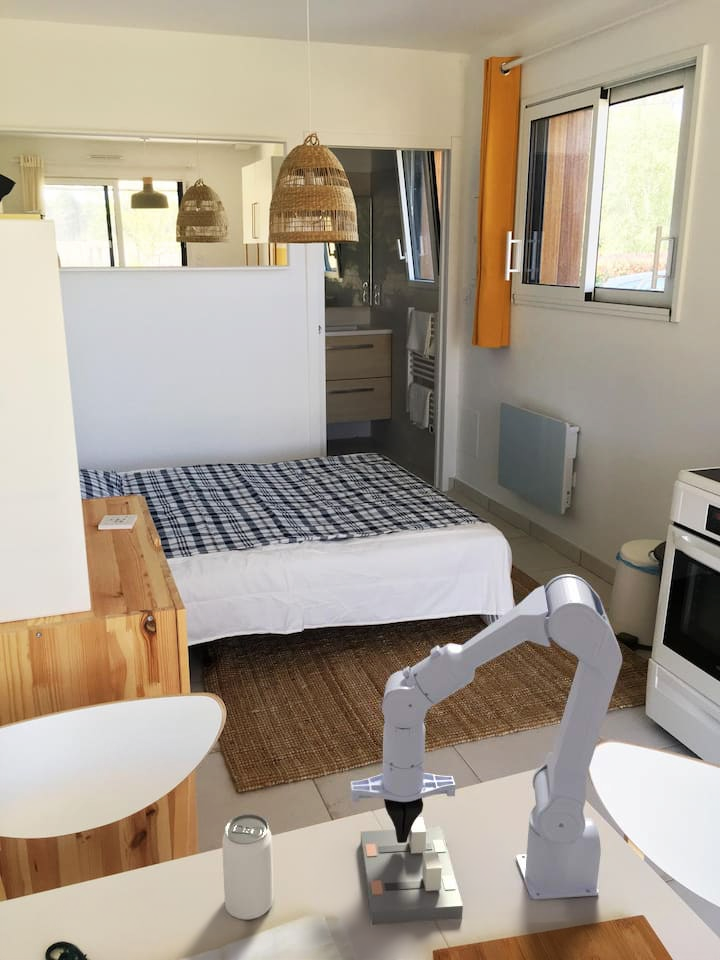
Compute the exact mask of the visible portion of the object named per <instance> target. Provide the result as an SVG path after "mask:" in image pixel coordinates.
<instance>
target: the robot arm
mask: <svg viewBox="0 0 720 960" xmlns="http://www.w3.org/2000/svg"><path fill="white" fill-rule="evenodd" d="M550 638H552V640H553V641H554V643H556V644H557V645H558V646H559V647H561V648H562V649H564V650H566V651H567V652H569V653H571V654H572V655H574V656H575V657H577V659H578V663H577V667H576V670H575V674H574V677H573V680H572V682H571V683H572V684H571V688H570V690H569V694H568V698H567V702H566V703H565V708H564V710H563V714H562V716H561V721H560V725H559V728H558V731H557V735H556V738H555V741H554V745H553V748H552V751H551V752H548V753H547V754H546V757H545V759H544V762H543V763H542V764H541V766H539V767H538V768H537V769H536V771H535V772H534V774H533V777H532V787H533V790H534V797H535V798H534V799H535V805H534V806H533V808H532V810H531V811H530V812H529V813H530V814H529V820H528V831H527V833H528V834H527V842H526V843H527V844H526V854H517V855H516V856H515V857H516V859H515V860H516V862H517V865H518V867H519V871H520V872H521V875H522V878H523V880H524V884H525V886H526V888H527V890H528V894H529V896H530V898H531V899H532V900H546V899H547V900H548V899H561V898H563V899H564V898H574V897H575V898H576V897H591V896H592V897H593V896H594V897H595V896H598V895H599V893H600V891H599V889H598V881H599V872H600V871H599V870H600V864H601V862H600V861H601V855H602V854H601V851H602V848H601V847H602V846H601V840H600V835H599V831H598V827H597V825H596V824H595V821H594V820H593V819H592V818H591V817H587V816H585V815H584V809H585V808H584V807H585V805H586V800H587V799H586V798H587V778H588V773H589V769H590V766H591V763H592V760H593V757H594V753H595V750H596V747H597V744H598V740H599V738H600V734H601V732H602V728H603V724H604V722H605V718H606V715H607V713H608V709H609V705H610V703H611V699H612V696H613V693H614V689H615V686H616V684H617V680H618V678H619V674H620V670H621V669H622V668H621V667H622V664H623V655H622V652H621V648H620V645H619V643H618V641H617V637H616V635H615V633H614V630H613V628H612V625H611V623H610V620H609V617H608V614H607V613H606V611H605V608H604V606H603V602H602V600H601V597H600V596H599V594H598V593H597V592H596V591H595V590H594V589H593V588H592V586H591V585H590V584H589V583H588V582H587V581H586V580H585V579H583V578H582V577H580V576H578V575H575V574H571V573H570V574H568V573H567V574H559V575H558V576H556V577H554V578H552V579H551V580H550V581H548V583H547V584H546V586H545V585H541V586H539V587H536V588H535V589H534V590H533V591H532V592H530V593H529V594H528V595H527V596H525V598H524V599H522V601H520V602H519V603H518V604H516V605H515V606H514V607H513V608H511V609H510V610H509V611H507V612H506V613H505V614H503V615H502V616H500V617H499V618H498V619H496V620H495V621H493V622H492V623H491V624H489V625H488V626H487V627H485V628H484V629H483V630H481V631H480V632H478V633H477V634H475V635H474V636H472V638H471V639H469V640H467V641H466V642H465V643H464V644H458V643H447V644H445V645H444V646H443V647H440V646H439V645H436V646H434V647H433V648H431V649H430V655H429V656H427V657H426V658H424V659H423V660H420V661H419V662H417V663H416V664H415V665H413V666H412V667H410V666H409V665H408V666H407V667H405V668H403V670H401V669H400V670H397V671H395V672H394V673H392V674H391V675H390V676H389V677H388V679H387V682H386V683H385V685H384V687H385V689H384V694H383V698H382V702H381V710H382V711H381V712H382V714H383V716H384V717H383V718H384V719H383V720H384V723H383V729H382V730H383V733H382V734H383V735H382V736H383V737H382V738H383V739H382V773H380V774H378V775H375V776H371V777H368V778H364V779H359V780H354V781H350V791H349V792H350V799H351V802H352V803H356V802H357V803H359V802H360V799H369V798H371V799H374V798H377V799H383V801H384V806H385V811H386V812H387V815H388V816H389V818H390V820H391V821H392V823H393V827H394V830H396V837H397V842H398V843H406V842H407V839H408V835H409V832H410V830H411V827H412V825H413V823H414V821H415V820H416V818H417V817H420V816H419V815H421V813H423V810H424V809H423V808H424V802H423V798H426V797H428V796H431V795H441V794H442V795H443V794H444V795H445V794H446V796H447V797H455V796H456V781H455V779H454V776H453V775H438V774H433V773H428V772H424V771H425V749H426V748H425V747H426V725H425V721H424V720H425V719H426V717H427V712H428V710H429V709H431V708H432V707H434V706H436V705H437V704H439V703H440V702H442V701H443V700H445V699H446V698H448V697H450V696H452V695H453V694H454V693H456V692H458V691H460V690H461V689H462V688H464V687H466V686H467V685H469V684H470V683H472V682H473V681H474V678H475V673H476V669H477V668H479V667H481V666H482V665H484V664H486V663H488V662H489V661H492V660H494V659H495V658H497V657H499V656H500V655H502V654H504V653H506V652H508V651H510V650H511V649H513V648H515V647H517V646H518V645H520V644H523V643H525V642H526V641H527V642H531V643H535V644H537V645H541V646H544V647H549V648H550V647H551V641H550Z"/></svg>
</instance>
